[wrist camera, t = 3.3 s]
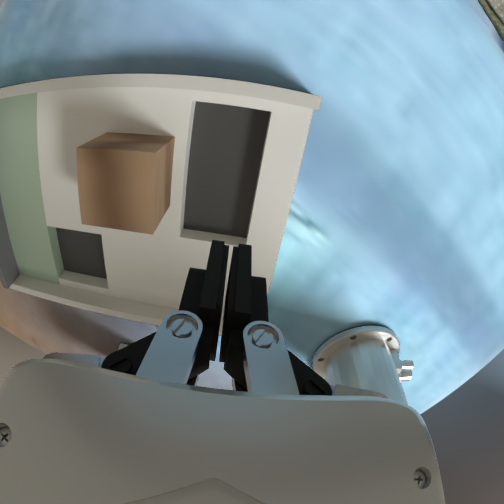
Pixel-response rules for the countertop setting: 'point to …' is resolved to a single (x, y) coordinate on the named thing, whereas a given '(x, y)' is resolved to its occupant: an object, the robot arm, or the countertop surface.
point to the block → (125, 181)
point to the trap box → (182, 185)
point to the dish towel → (495, 13)
